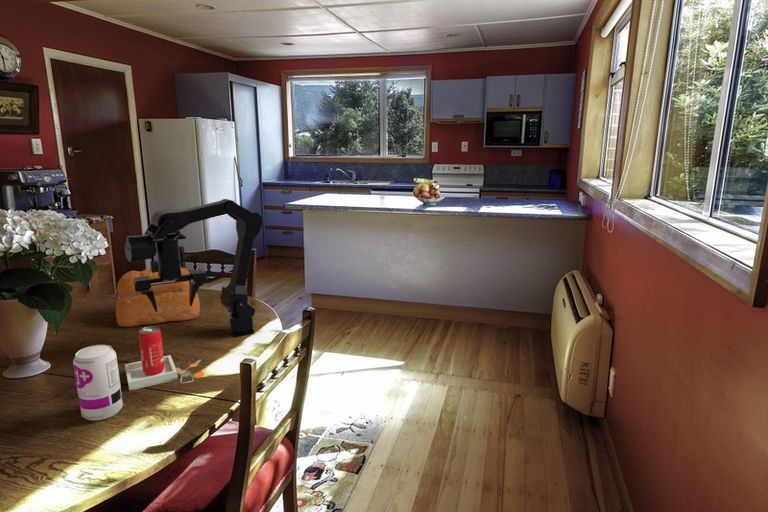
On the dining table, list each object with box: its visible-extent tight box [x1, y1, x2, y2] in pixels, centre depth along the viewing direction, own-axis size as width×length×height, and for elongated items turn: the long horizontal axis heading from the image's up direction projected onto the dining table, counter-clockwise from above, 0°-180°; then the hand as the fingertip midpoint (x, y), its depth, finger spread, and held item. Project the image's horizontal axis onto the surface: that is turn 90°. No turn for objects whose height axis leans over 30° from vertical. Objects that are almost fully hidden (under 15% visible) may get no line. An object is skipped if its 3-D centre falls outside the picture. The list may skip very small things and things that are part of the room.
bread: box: [115, 266, 201, 328], centre depth 163 cm, size 16×26×17 cm, turn 112°
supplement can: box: [72, 344, 124, 422], centre depth 106 cm, size 8×8×15 cm
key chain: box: [175, 359, 206, 385], centre depth 127 cm, size 13×7×1 cm, turn 25°
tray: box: [124, 354, 179, 391], centre depth 125 cm, size 11×11×2 cm
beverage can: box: [138, 325, 164, 376], centre depth 124 cm, size 5×5×12 cm
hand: (173, 308), depth 137 cm, fingers open, 9 cm apart
